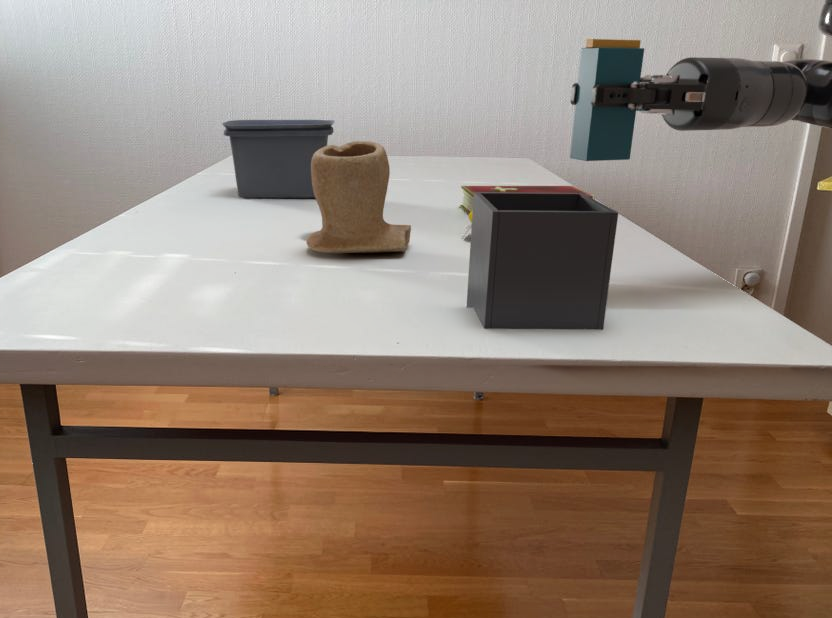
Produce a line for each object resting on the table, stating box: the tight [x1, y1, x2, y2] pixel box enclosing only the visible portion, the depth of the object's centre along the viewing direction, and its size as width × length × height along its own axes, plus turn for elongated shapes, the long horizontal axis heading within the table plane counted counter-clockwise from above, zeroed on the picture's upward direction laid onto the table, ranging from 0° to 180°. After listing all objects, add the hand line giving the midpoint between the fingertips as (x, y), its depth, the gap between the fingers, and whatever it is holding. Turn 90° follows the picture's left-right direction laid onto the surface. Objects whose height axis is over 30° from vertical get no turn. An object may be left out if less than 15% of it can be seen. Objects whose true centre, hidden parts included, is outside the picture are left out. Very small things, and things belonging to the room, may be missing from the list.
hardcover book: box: [459, 185, 596, 216], centre depth 139 cm, size 12×21×4 cm, turn 94°
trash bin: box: [465, 192, 619, 331], centre depth 76 cm, size 11×11×13 cm
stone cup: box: [305, 140, 412, 254], centre depth 106 cm, size 15×12×15 cm
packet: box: [569, 38, 645, 162], centre depth 81 cm, size 6×3×12 cm, turn 110°
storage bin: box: [221, 119, 335, 199], centre depth 154 cm, size 21×16×14 cm
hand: (584, 94), depth 80 cm, fingers closed on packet, 3 cm apart
